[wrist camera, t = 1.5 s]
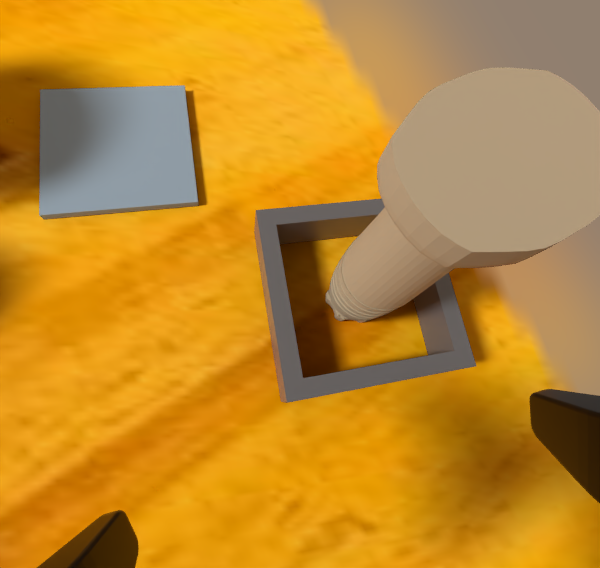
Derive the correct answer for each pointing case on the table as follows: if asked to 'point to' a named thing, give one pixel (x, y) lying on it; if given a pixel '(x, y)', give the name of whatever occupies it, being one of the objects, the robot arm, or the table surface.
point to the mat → (115, 151)
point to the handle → (473, 186)
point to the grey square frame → (292, 386)
